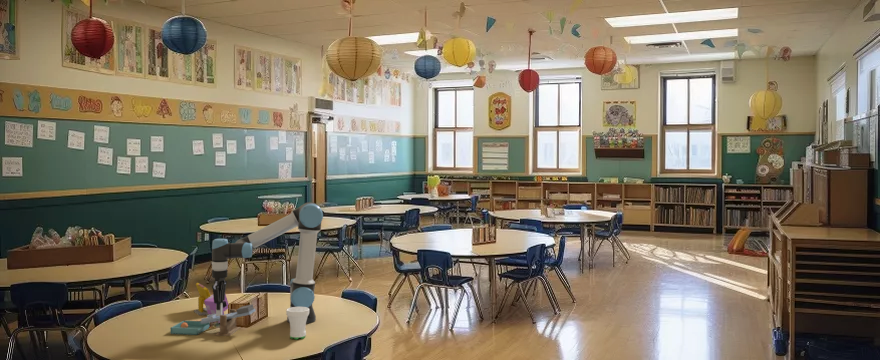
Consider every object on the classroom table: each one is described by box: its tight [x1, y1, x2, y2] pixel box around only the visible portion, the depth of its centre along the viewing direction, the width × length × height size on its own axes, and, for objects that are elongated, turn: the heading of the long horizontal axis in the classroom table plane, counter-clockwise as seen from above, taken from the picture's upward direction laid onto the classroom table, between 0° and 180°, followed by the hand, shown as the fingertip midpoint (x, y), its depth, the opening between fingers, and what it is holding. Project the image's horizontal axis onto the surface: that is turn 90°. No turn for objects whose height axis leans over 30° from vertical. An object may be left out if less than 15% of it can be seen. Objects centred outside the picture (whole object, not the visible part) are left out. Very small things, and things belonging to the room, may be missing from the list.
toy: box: [204, 293, 230, 324], centre depth 365 cm, size 11×8×15 cm
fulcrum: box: [215, 308, 241, 337], centre depth 346 cm, size 7×14×10 cm, turn 175°
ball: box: [181, 322, 188, 328], centre depth 348 cm, size 4×4×4 cm
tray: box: [169, 320, 211, 336], centre depth 348 cm, size 14×14×3 cm
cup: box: [285, 307, 309, 340], centre depth 336 cm, size 11×11×14 cm
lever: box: [200, 303, 256, 324], centre depth 346 cm, size 26×10×4 cm, turn 84°
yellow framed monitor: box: [193, 282, 211, 316], centre depth 385 cm, size 20×8×16 cm, turn 34°
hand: (219, 315), depth 346 cm, fingers closed
